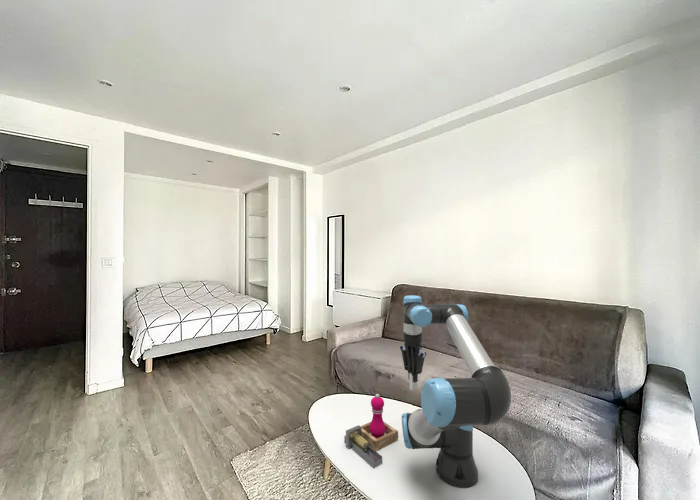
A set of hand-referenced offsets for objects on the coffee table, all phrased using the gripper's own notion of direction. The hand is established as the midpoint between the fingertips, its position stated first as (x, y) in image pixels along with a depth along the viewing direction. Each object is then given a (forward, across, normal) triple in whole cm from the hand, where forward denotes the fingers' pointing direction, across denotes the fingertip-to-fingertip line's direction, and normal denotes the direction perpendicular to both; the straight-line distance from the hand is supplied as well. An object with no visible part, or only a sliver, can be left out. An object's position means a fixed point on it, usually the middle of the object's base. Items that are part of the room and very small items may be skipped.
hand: (413, 388), depth 128 cm
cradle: (+26, +16, +6) cm, 31 cm away
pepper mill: (+27, +16, +6) cm, 32 cm away
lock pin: (+24, +15, +17) cm, 33 cm away
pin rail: (+26, +12, +18) cm, 34 cm away
